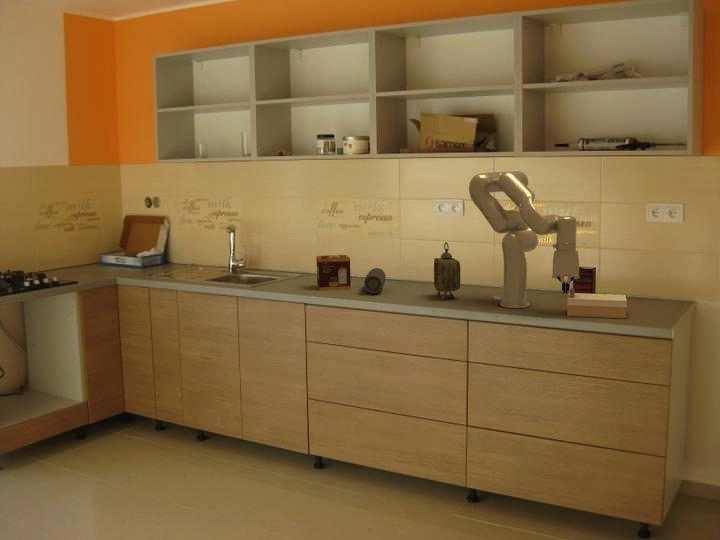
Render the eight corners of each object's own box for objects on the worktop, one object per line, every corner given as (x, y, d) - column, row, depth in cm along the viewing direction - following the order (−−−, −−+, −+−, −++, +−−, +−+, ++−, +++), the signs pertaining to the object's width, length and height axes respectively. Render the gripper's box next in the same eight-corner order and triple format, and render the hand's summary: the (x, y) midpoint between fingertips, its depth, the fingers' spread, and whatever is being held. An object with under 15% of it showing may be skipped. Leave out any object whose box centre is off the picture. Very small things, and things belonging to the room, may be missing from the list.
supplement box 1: (316, 287, 390) (316, 255, 387) (347, 285, 392) (347, 254, 390) (319, 290, 379) (318, 258, 377) (351, 289, 382) (350, 257, 379)
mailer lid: (567, 305, 313) (567, 292, 312) (568, 299, 325) (568, 287, 324) (626, 307, 307) (626, 294, 306) (625, 301, 319) (625, 288, 318)
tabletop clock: (433, 295, 363) (433, 240, 359) (453, 294, 364) (453, 240, 360) (440, 301, 349) (440, 244, 345) (460, 300, 350) (461, 244, 346)
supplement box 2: (595, 304, 337) (596, 267, 334) (592, 306, 333) (593, 268, 330) (575, 302, 341) (576, 265, 339) (571, 304, 338) (572, 267, 335)
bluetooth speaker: (383, 295, 364) (383, 274, 363) (363, 295, 365) (362, 274, 364) (386, 287, 386) (386, 266, 385) (367, 287, 387) (367, 266, 386)
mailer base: (567, 316, 314) (567, 300, 314) (568, 310, 325) (568, 295, 324) (625, 318, 308) (626, 302, 307) (624, 312, 319) (625, 297, 318)
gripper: (546, 248, 315) (545, 294, 317) (585, 248, 310) (584, 295, 313) (547, 246, 322) (547, 290, 324) (585, 246, 317) (585, 291, 320)
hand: (565, 292), depth 319 cm, fingers closed
